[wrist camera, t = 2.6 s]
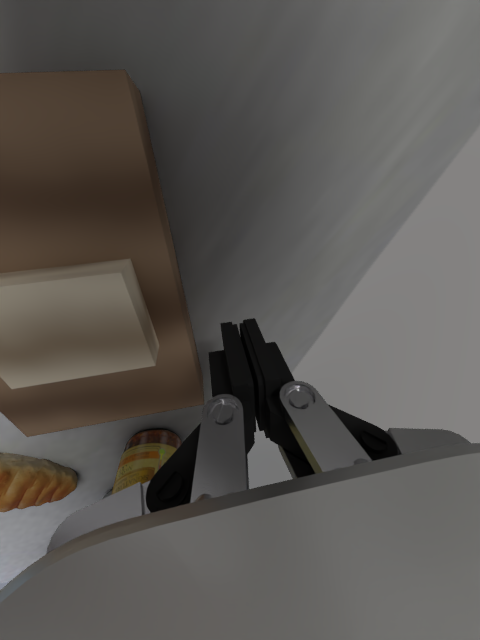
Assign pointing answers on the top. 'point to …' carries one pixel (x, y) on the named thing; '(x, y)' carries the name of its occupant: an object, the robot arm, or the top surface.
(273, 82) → the top surface
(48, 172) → the walnut stand
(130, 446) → the sauce bottle
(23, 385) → the birch tile
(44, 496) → the pastry
